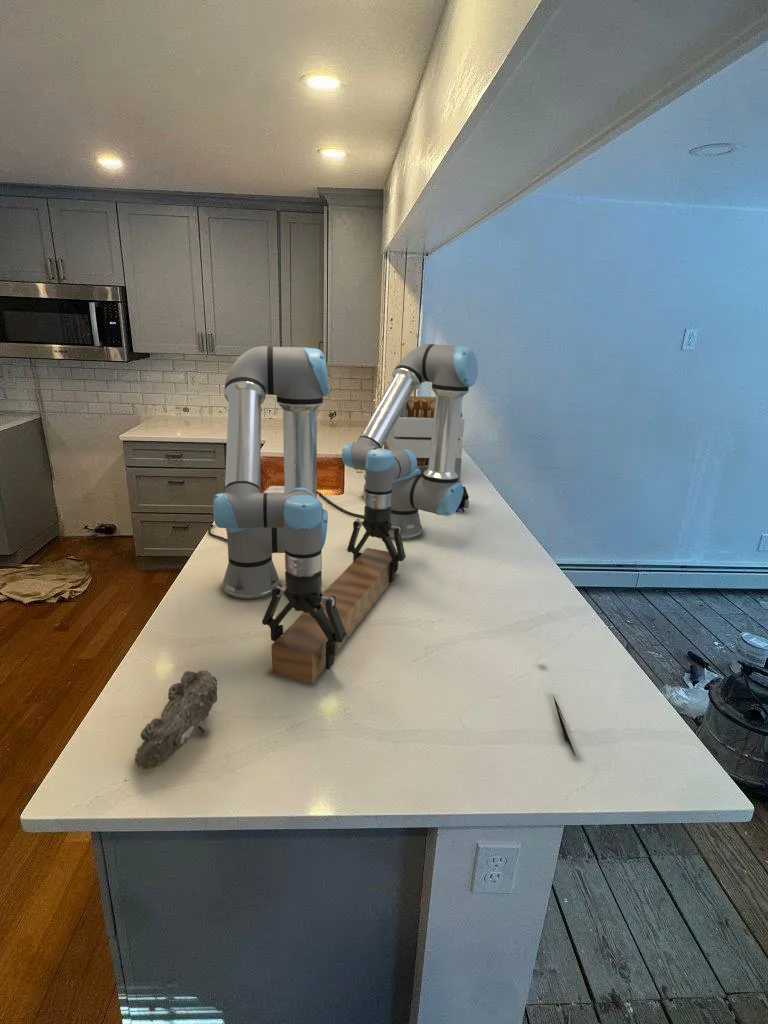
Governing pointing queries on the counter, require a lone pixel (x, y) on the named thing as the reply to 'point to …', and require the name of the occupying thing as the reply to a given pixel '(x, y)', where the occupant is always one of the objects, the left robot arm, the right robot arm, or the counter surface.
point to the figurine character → (464, 500)
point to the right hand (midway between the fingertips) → (375, 577)
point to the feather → (563, 726)
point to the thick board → (305, 640)
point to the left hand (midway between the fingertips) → (304, 659)
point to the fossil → (178, 718)
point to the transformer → (419, 431)
